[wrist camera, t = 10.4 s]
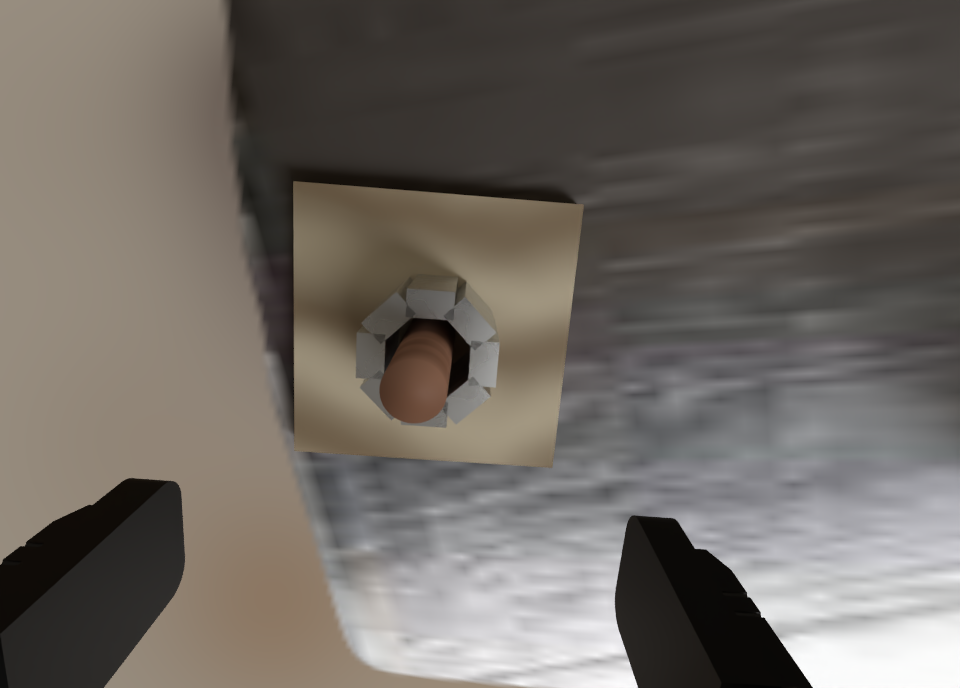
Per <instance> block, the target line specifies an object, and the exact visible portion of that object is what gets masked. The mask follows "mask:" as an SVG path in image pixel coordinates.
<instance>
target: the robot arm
mask: <svg viewBox="0 0 960 688" xmlns="http://www.w3.org/2000/svg"><path fill="white" fill-rule="evenodd" d="M182 517H183V516H182V499H181V491H180V488H179V485H178V484H177V483H176V482H174V481H162V480H149V479H135V478H129V479H126V480H124V481H123V482H121V483H120V484H119V485H117V486H116V487H115V488H114V489H113V490H111V491H110V492H109V493H107V494H106V495H105V496H104V497H102V498H101V499H100V500H99V501H97V502H96V503H95V504H94V505H88V506H85V507H83V508H81V509H79V510H77V511H75V512H73V513H70V514H68V515H66V516H64V517H62V518H60V519H58V520H55V521H53V522H52V523H51V524H49V525H48V526H47V527H45V528H44V529H43V530H41V531H40V532H39V533H37V534H36V535H35V536H33V537H32V538H31V539H30V540H28V541H27V542H26V545H25V547H24V546H23V547H22V546H20V547H19V548H18V549H16V550H15V551H14V552H12V553H11V554H10V555H8V556H7V557H6V558H4V559H3V562H2V564H1V565H0V688H104V687H105V685H106V684H107V683H108V681H109V680H110V679H111V678H112V676H113V675H114V674H115V672H116V671H117V670H118V668H119V667H120V666H121V664H122V663H123V662H124V660H125V659H126V658H127V657H128V655H129V654H130V653H131V651H132V650H133V649H134V647H135V646H136V645H137V644H138V642H139V641H140V640H141V638H142V637H143V636H144V634H145V633H146V632H147V630H148V629H149V628H150V627H151V625H152V624H153V623H154V621H155V620H156V619H157V617H158V616H159V615H160V613H161V612H162V611H163V610H164V608H165V607H166V605H167V604H168V603H169V602H170V600H171V599H172V598H173V596H174V595H175V593H176V591H177V589H178V587H179V584H180V581H181V578H182V575H183V571H184V563H185V552H184V533H183V518H182ZM615 611H616V619H617V625H618V628H619V632H620V635H621V638H622V641H623V644H624V647H625V650H626V653H627V656H628V658H629V661H630V664H631V667H632V670H633V673H634V676H635V679H636V682H637V685H638V688H813V687H812V686H811V684H810V683H809V682H808V680H807V679H806V677H805V676H804V674H803V673H802V671H801V670H800V669H799V667H798V666H797V664H796V663H795V661H794V660H793V658H792V657H791V656H790V654H789V653H788V651H787V650H786V648H785V647H784V645H783V644H782V643H781V641H780V640H779V638H778V637H777V635H776V634H775V632H774V631H773V630H772V628H771V627H770V625H769V624H768V622H767V621H766V620H765V618H761V612H760V611H759V609H758V608H757V607H756V605H755V604H754V602H753V601H752V599H751V598H749V597H747V592H746V591H745V589H744V588H743V586H742V585H741V583H740V582H739V581H738V579H737V578H736V576H735V575H734V573H733V572H732V570H731V569H729V568H728V567H727V566H726V565H724V564H723V563H722V562H721V561H719V560H718V559H717V558H716V557H714V556H713V555H712V554H711V553H709V552H708V551H707V550H703V549H695V548H694V547H693V545H692V544H691V542H690V540H689V539H688V537H687V536H686V534H685V532H684V531H683V529H682V528H681V526H680V525H679V523H678V522H677V520H675V519H673V518H661V517H647V516H631V517H630V519H629V521H628V523H627V527H626V532H625V538H624V544H623V550H622V556H621V562H620V567H619V573H618V579H617V585H616V592H615Z"/></svg>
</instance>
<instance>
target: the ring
mask: <svg viewBox="0 0 960 688" xmlns="http://www.w3.org/2000/svg"><path fill="white" fill-rule="evenodd" d="M411 318H424V319H437V320H448V321H449V323H450V324H451V325H452V326H453V327H454V328H455V329H456V330H457V332H458V333H459V334H460V335H461V336H462V337H463V338H464V339H465V341H466V342H467V343H468V344H469V351H468V352H466V353H465V354H464V355H463V356H462V357H460V358H459V359H458V360H457V361H456V362H454V363H453V364H452V365H451V369H450V377H449V385H448V392H447V399H446V402H445V405H444V407H443V408H442V410H441V411H440V412H439V413H438V414H437V415H436V416H435V417H434V418H432V419H430V420H428V421H426V422H422V423H406V422H402V421H401V425H411V426H427V427H442V428H446V427H447V418H448V417H449V418H450V419H451V420H452V421H453V422H454V423H455V424H458V423H459V422H460V421H461V420H463V419H464V418H465V417H466V416H467V415H469V414H470V413H471V412H472V411H474V410H475V409H476V408H477V407H479V406H480V405H481V404H482V403H483V402H485V401H486V400H487V399H488V398H490V397H491V392H490V387H494V388H496V378H497V367H498V356H499V344H500V342H499V337H498V332H497V327H496V322H495V319H494V318H493V312H492V310H491V309H490V308H489V307H488V305H487V304H486V303H485V302H484V301H483V300H482V298H481V297H480V296H479V295H478V294H477V293H476V292H475V290H474V289H473V288H472V287H471V286H470V285H469V283H468V282H467V281H466V282H465V283H463V284H462V285H461V286H460V287H459V288H458V277H452V276H439V275H425V274H418V275H417V276H416V277H415V279H414V280H412V279H411V278H410V277H409V278H408V279H407V280H406V281H404V282H403V283H402V284H401V285H400V286H399V287H398V288H397V289H395V290H394V291H393V292H392V293H391V294H390V295H389V296H387V297H386V298H385V299H384V300H383V301H382V302H381V303H380V304H379V305H378V306H377V307H376V308H375V309H374V310H373V311H372V312H371V313H370V314H369V315H368V316H367V317H366V318H365V319H364V321H363V322H362V323H361V324H362V325H363V326H362V327H361V328H360V329H359V330H358V332H357V341H356V378H363V379H364V381H363V383H362V384H361V386H360V387H359V388H360V389H361V390H362V391H363V392H364V393H365V394H366V395H367V396H368V397H369V398H370V399H371V400H372V401H373V402H374V403H375V404H376V405H377V406H378V407H379V408H380V409H381V410H382V411H383V412H384V413H385V414H386V416H387V417H388V418H389V419H390V420H392V419H394V417H393V416H391V415H390V414H389V413H388V412H387V410H386V409H385V408H384V406H383V404H382V402H381V399H380V394H379V387H380V382H381V379H382V377H383V375H384V373H385V371H386V369H387V367H388V365H389V364H390V362H391V360H392V358H393V356H394V354H395V352H396V350H397V348H398V346H399V337H400V327H401V326H402V325H404V324H405V323H406V322H407V321H408V320H409V319H411Z"/></svg>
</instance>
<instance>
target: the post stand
mask: <svg viewBox="0 0 960 688" xmlns="http://www.w3.org/2000/svg"><path fill="white" fill-rule="evenodd" d="M583 207H584V205H581V204H569V203H557V202H544V201H532V200H520V199H507V198H495V197H482V196H470V195H458V194H445V193H433V192H421V191H408V190H396V189H384V188H371V187H359V186H347V185H334V184H322V183H309V182H297V181H293V228H294V451H303V452H319V453H334V454H349V455H365V456H380V457H395V458H411V459H426V460H441V461H457V462H472V463H487V464H503V465H518V466H533V467H549V468H552V465H553V457H554V448H555V440H556V432H557V423H558V415H559V407H560V398H561V390H562V382H563V373H564V365H565V357H566V348H567V340H568V332H569V323H570V315H571V307H572V298H573V290H574V282H575V273H576V265H577V257H578V248H579V240H580V232H581V223H582V215H583ZM418 274H425V275H439V276H452V277H458V288H459V287H460V286H461V285H462V284H463V283H465V282H466V281H467V282H468V283H469V285H470V286H471V287H472V288H473V289H474V290H475V292H476V293H477V294H478V295H479V296H480V297H481V298H482V300H483V301H484V302H485V303H486V304H487V305H488V307H489V308H490V309H491V310H492V312H493V318H494V319H495V322H496V327H497V332H498V337H499V342H500V344H499V356H498V367H497V378H496V388H494V387H490V392H491V397H490V398H488V399H487V400H486V401H485V402H483V403H482V404H481V405H480V406H479V407H477V408H476V409H475V410H474V411H472V412H471V413H470V414H469V415H467V416H466V417H465V418H464V419H463V420H461V421H460V422H459V423H458V424H455V423H454V422H453V421H452V420H451V419H450V418H449V417H448V418H447V427H446V428H442V427H427V426H411V425H401V421H402V422H406V423H422V422H426V421H428V420H430V419H432V418H434V417H435V416H436V415H437V414H438V413H439V412H440V411H441V410H442V408H443V407H444V405H445V402H446V399H447V392H448V385H449V377H450V369H451V365H452V364H453V363H454V362H456V361H457V360H458V359H459V358H460V357H462V356H463V355H464V354H465V353H466V352H468V351H469V344H468V343H467V342H466V341H465V339H464V338H463V337H462V336H461V335H460V334H459V333H458V332H457V330H456V329H455V328H454V327H453V326H452V325H451V324H450V323H449V321H448V320H437V319H424V318H411V319H409V320H408V321H407V322H406V323H405V324H404V325H402V326H401V327H400V337H399V346H398V348H397V350H396V352H395V354H394V356H393V358H392V360H391V362H390V364H389V365H388V367H387V369H386V371H385V373H384V375H383V377H382V379H381V382H380V387H379V394H380V399H381V402H382V404H383V406H384V408H385V409H386V410H387V412H388V413H389V414H390V415H391V416H393V417H394V419H392V420H390V419H389V418H388V417H387V416H386V414H385V413H384V412H383V411H382V410H381V409H380V408H379V407H378V406H377V405H376V404H375V403H374V402H373V401H372V400H371V399H370V398H369V397H368V396H367V395H366V394H365V393H364V392H363V391H362V390H361V389H360V388H359V387H360V386H361V384H362V383H363V381H364V379H363V378H356V341H357V332H358V330H359V329H360V328H361V327H362V326H363V325H362V324H361V323H362V322H363V321H364V319H365V318H366V317H367V316H368V315H369V314H370V313H371V312H372V311H373V310H374V309H375V308H376V307H377V306H378V305H379V304H380V303H381V302H382V301H383V300H384V299H385V298H386V297H387V296H389V295H390V294H391V293H392V292H393V291H394V290H395V289H397V288H398V287H399V286H400V285H401V284H402V283H403V282H404V281H406V280H407V279H408V278H409V277H410V278H411V279H412V280H414V279H415V277H416V276H417V275H418Z"/></svg>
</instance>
